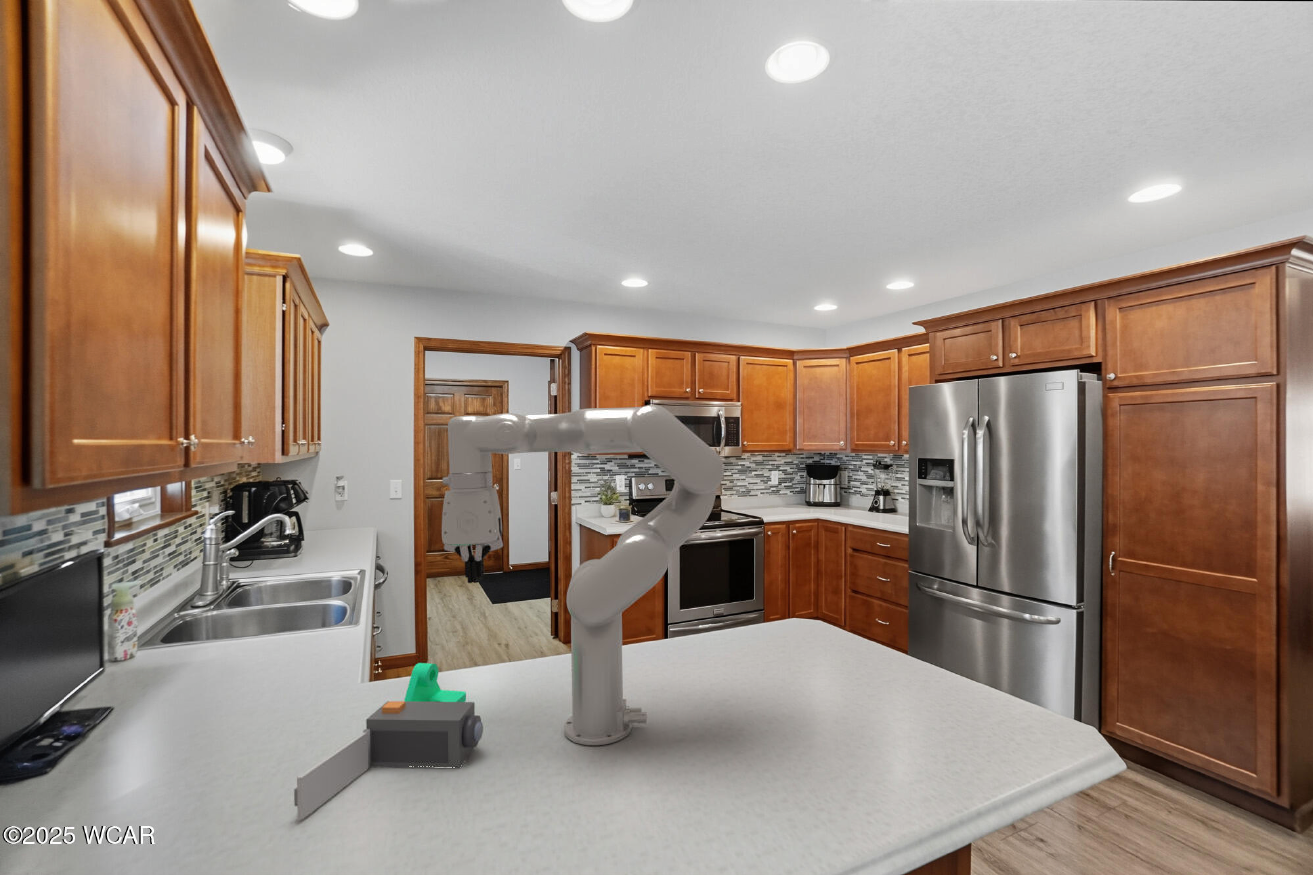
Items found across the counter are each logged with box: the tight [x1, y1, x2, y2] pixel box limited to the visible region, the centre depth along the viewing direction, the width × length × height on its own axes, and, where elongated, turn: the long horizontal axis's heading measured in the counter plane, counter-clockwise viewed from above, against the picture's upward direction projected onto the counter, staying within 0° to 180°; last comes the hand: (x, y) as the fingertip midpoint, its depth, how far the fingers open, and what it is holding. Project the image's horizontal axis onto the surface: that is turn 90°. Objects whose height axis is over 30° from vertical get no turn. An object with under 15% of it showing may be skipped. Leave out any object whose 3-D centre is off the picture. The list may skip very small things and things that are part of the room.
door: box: [293, 728, 372, 820], centre depth 94 cm, size 14×1×6 cm, turn 167°
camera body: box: [365, 700, 484, 769], centre depth 104 cm, size 18×7×9 cm, turn 86°
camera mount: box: [403, 662, 467, 702], centre depth 120 cm, size 12×8×10 cm, turn 169°
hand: (474, 581), depth 111 cm, fingers closed
